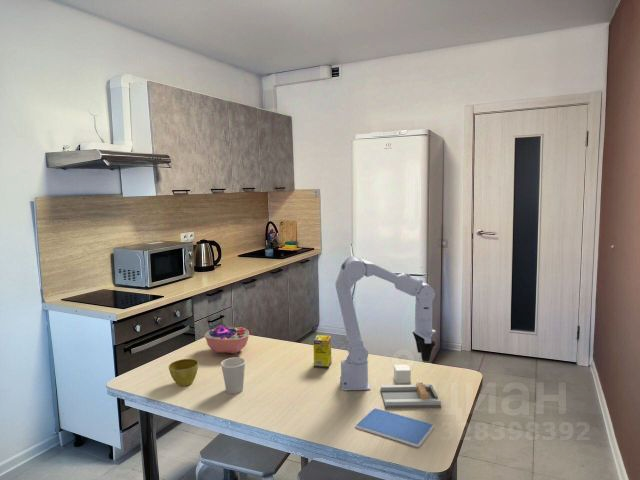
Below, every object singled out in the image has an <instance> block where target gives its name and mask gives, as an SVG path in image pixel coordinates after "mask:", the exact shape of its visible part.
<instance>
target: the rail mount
mask: <svg viewBox="0 0 640 480" xmlns="http://www.w3.org/2000/svg"><path fill="white" fill-rule="evenodd" d="M423 385H424V387H425V389H426V391H427V393H428V399H420V397H419V395H418V392H417V390H416V384H382V385H380V392H381V396H382V400H383V405H384V407H385V409H423V408H427V409H428V408H430V409H431V408H433V409H434V408H442V402H441V401H442V400H441V399H440V398H439V396H438V395H437V392H436V390H435V389H434V386H433V384H432V383H431V384H423Z"/></svg>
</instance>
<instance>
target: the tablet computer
mask: <svg viewBox="0 0 640 480" xmlns="http://www.w3.org/2000/svg"><path fill="white" fill-rule="evenodd" d="M354 428H355V429H357V430H361V431H364V432H367V433H371V434H373V435H377V436H380V437H383V438H386V439H389V440H393V441H396V442H400V443H403V444H406V445H408V446H412V447H414V448H420V447H421V446H422V445H423V443H424V442H425V441H426V440H427V438H428V437H429V435H430V434H431V433H432V431H434V429H435V425H434V423H430V422H426V421H423V420H418V419H414V418H411V417H408V416H404V415H400V414H398V413H394V412H390V411H386V410H383V409H379V408H372V409H371V410H370V411H369V412H368V413H367V414H366V415H365V416H363V417H362V418H361V419H360V421H358V422H357V423H355V426H354Z"/></svg>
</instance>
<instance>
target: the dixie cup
mask: <svg viewBox="0 0 640 480" xmlns="http://www.w3.org/2000/svg"><path fill="white" fill-rule="evenodd" d="M246 363H247V362H246V359H244V358H242V357H229V358H226V359H224V360H221V362H220V366H221V371H222V376H223V381H224V387H225V392H226V393H227V394H229V395H236V394H240V393H242V392H243V390H244V384H245V383H244V382H245V381H244V380H245V369H246V368H245V367H246Z"/></svg>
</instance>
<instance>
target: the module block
mask: <svg viewBox="0 0 640 480" xmlns="http://www.w3.org/2000/svg"><path fill="white" fill-rule="evenodd" d="M411 373H412V371H411V368H410V366H409V364H393V377H394V381H395V383H398V384H399V383H400V384H402V383H403V384H406V383H407V384H408V383H411V382H412V381H411V378H412V376H411Z"/></svg>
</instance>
